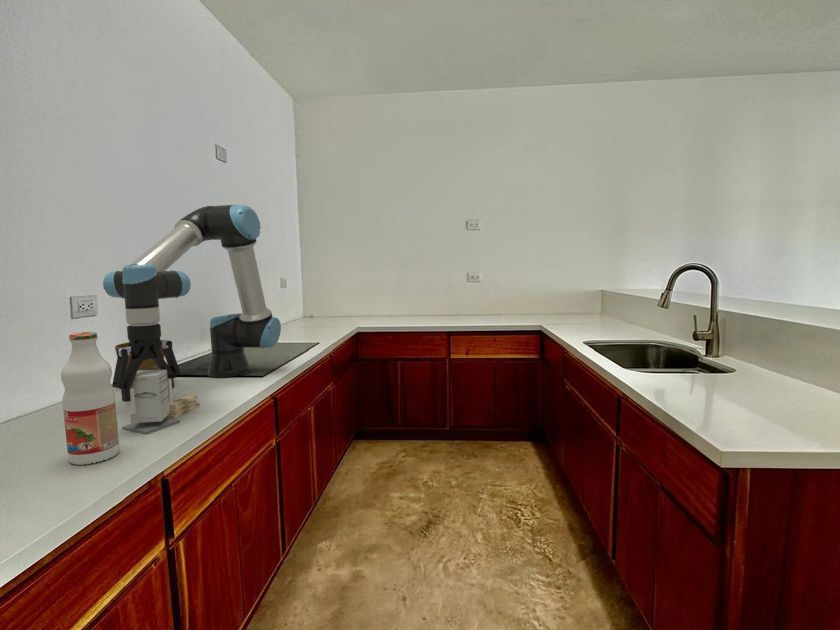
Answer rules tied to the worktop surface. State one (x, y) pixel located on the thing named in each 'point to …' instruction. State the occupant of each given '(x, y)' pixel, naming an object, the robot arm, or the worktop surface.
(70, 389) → the fruit juice
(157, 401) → the supplement box
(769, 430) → the worktop surface
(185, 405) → the pine offcuts
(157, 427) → the slate mat
